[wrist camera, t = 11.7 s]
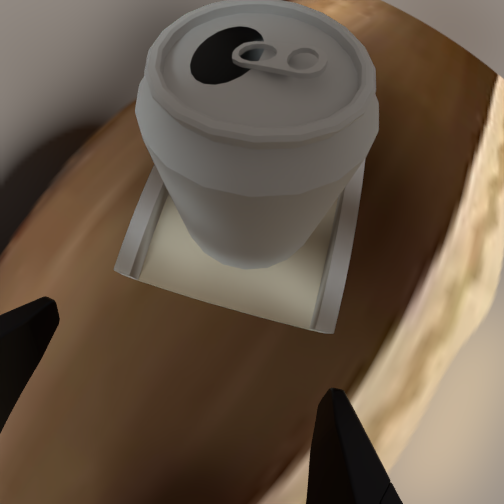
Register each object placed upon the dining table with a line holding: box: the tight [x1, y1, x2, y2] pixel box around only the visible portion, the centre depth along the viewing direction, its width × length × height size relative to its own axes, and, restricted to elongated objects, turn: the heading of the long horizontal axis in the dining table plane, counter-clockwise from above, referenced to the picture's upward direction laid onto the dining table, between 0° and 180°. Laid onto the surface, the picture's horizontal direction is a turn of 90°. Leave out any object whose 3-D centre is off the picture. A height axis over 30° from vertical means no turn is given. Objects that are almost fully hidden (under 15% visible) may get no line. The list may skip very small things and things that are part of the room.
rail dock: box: [114, 159, 365, 334], centre depth 18 cm, size 12×12×2 cm
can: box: [135, 0, 379, 269], centre depth 13 cm, size 8×8×12 cm
